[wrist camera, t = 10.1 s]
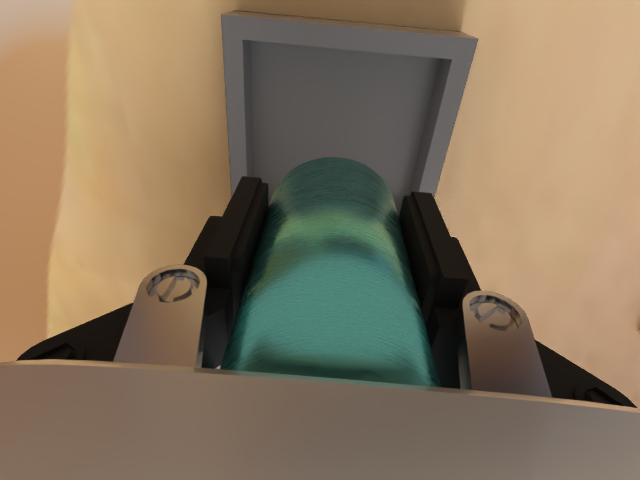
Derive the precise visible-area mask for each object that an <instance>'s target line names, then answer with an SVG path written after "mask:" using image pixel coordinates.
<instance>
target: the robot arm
mask: <svg viewBox="0 0 640 480" xmlns="http://www.w3.org/2000/svg"><path fill="white" fill-rule="evenodd" d="M267 211H268V183H262V179H261V178H258V177H247V176H242V177H241V179H240V181H239V183H238V185H237V187H236V190H235V192H234V194H233V196H232V198H231V200H230V202H229V204H228V206H227V208H226V210H225V212H224V214H223V216H222V217H220V216H210V217H209V219H208V220H207V222H206V224H205V226H204V228H203V230H202V231H201V233H200V235H199V237H198V239H197V241H196V243H195V244H194V246H193V248H192V250H191V252H190V254H189V256H188V257H187V259H186V261H185V263H184V265H171V266H166V267H163V268H160V269H157V270H156V271H154V272H152V273H150V274H149V275H148V276H147V277H145V278H144V279H143V281H142V283H141V284H140V286H139V289H138V292H137V294H136V297H135V300H134V302H133V303H131V304H128V305H126V306H124V307H121V308H119V309H117V310H114V311H112V312H110V313H107V314H105V315H103V316H100V317H98V318H96V319H93V320H91V321H89V322H86V323H84V324H82V325H79V326H77V327H75V328H72V329H70V330H68V331H65V332H63V333H61V334H58V335H56V336H54V337H51V338H49V339H47V340H44V341H42V342H40V343H39V344H37V345H35V346H33V347H31V348H30V349H28V350H27V351H26V352H25V353H23V354H22V355H21V356H20V357H19V358H18V359H17V360H16V361H11V362H2V363H0V480H640V409H638V408H637V407H636V406H635V405H634V404H633V403H632V402H631V401H630V400H629V399H628V398H627V397H626V396H624V395H623V394H622V393H620V392H619V391H617V390H616V389H615V388H613V387H611V386H610V385H608V384H606V383H605V382H603V381H602V380H600V379H598V378H597V377H595V376H593V375H592V374H590V373H589V372H587V371H585V370H584V369H582V368H580V367H579V366H577V365H575V364H574V363H572V362H571V361H569V360H567V359H566V358H564V357H562V356H561V355H559V354H558V353H556V352H554V351H553V350H551V349H549V348H548V347H546V346H544V345H543V344H541V343H540V342H538V341H536V340H535V339H534V336H533V333H532V330H531V326H530V323H529V320H528V318H527V316H526V314H525V312H524V311H523V310H522V309H521V308H520V306H519V305H517V304H516V303H515V302H513V301H512V300H511V299H509V298H507V297H505V296H503V295H501V294H497V293H494V292H491V291H482V290H481V289H480V287H479V285H478V282H477V280H476V278H475V276H474V274H473V271H472V269H471V267H470V265H469V263H468V260H467V258H466V256H465V254H464V252H463V250H462V247H461V245H460V243H459V241H458V239H457V238H455V237H451V236H450V234H449V232H448V229H447V227H446V225H445V223H444V220H443V218H442V216H441V213H440V211H439V209H438V206H437V204H436V202H435V199H434V197H433V195H432V193H426V192H415V191H412V192H411V194H410V196H406V195H405V196H404V198H403V201H402V206H401V210H400V214H399V222H400V226H401V230H402V234H403V238H404V242H405V246H406V250H407V254H408V258H409V262H410V266H411V270H412V274H413V278H414V282H415V286H416V290H417V294H418V298H419V302H420V306H421V310H422V314H423V318H424V322H425V326H426V330H427V334H428V338H429V342H430V346H431V350H432V354H433V358H434V362H435V366H436V370H437V374H438V378H439V382H440V386H441V387H431V386H420V385H408V384H396V383H384V382H372V381H360V380H348V379H336V378H324V377H312V376H300V375H287V374H275V373H262V372H249V371H236V370H223V369H217V367H218V366H220V365H221V363H222V360H223V357H224V353H225V350H226V347H227V343H228V340H229V337H230V333H231V330H232V327H233V324H234V320H235V317H236V314H237V310H238V307H239V304H240V300H241V297H242V294H243V291H244V287H245V284H246V281H247V277H248V274H249V271H250V267H251V264H252V261H253V257H254V254H255V251H256V248H257V244H258V241H259V238H260V234H261V231H262V228H263V224H264V221H265V218H266V215H267Z"/></svg>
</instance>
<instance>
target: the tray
mask: <svg viewBox="0 0 640 480" xmlns="http://www.w3.org/2000/svg"><path fill="white" fill-rule="evenodd" d="M221 23H222V40H223V58H224V75H225V92H226V109H227V126H228V144H229V161H230V178H231V195H232V196H233V194H234V192H235V190H236V187H237V185H238V183H239V181H240V179H241V177H242V176H247V177H258V178H261V179H262V183H268V208H269V205H270V201H271V198H272V195H273V193H274V190H275V188H276V187H277V185H278V183H279V182H280V181H281V179H282V178H283V177H284V176H285V175H286V174H287V173H288V172H289V171H291V170H292V169H294V168H295V167H297V166H299V165H300V164H302V163H305V162H307V161H310V160H313V159H318V158H324V157H341V158H347V159H351V160H354V161H357V162H360V163H362V164H364V165H366V166H368V167H369V168H371V169H372V170H374V171H375V172H376V173H377V174H379V175H380V177H381V178H382V179H383V180H384V181H385V182H386V184H387V185H388V187H389V189H390V191H391V193H392V196H393V199H394V202H395V206H396V210H397V214H398V218H399V214H400V210H401V206H402V201H403V198H404V196H405V195H406V196H410V194H411V192H412V191H415V192H426V193H432V195H433V197H434V196H435V192H436V189H437V185H438V181H439V178H440V174H441V171H442V167H443V164H444V160H445V156H446V153H447V149H448V146H449V142H450V138H451V135H452V131H453V128H454V124H455V121H456V117H457V113H458V110H459V106H460V103H461V99H462V95H463V92H464V88H465V85H466V81H467V78H468V74H469V70H470V67H471V63H472V60H473V56H474V52H475V49H476V45H477V42H478V39H477V38H475V37H472V36H470V35H468V34H465V33H463V32H457V31H446V30H436V29H425V28H415V27H404V26H394V25H383V24H373V23H362V22H352V21H341V20H330V19H320V18H309V17H299V16H288V15H278V14H267V13H257V12H246V11H232V12H228V13H225V14H221Z"/></svg>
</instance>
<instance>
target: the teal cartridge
mask: <svg viewBox="0 0 640 480" xmlns="http://www.w3.org/2000/svg"><path fill="white" fill-rule="evenodd" d="M220 369H223V370H236V371H249V372H262V373H275V374H287V375H300V376H312V377H324V378H336V379H348V380H360V381H372V382H384V383H396V384H408V385H420V386H431V387H441V386H440V382H439V378H438V374H437V370H436V366H435V362H434V358H433V354H432V350H431V346H430V342H429V338H428V334H427V330H426V326H425V322H424V318H423V314H422V310H421V306H420V302H419V298H418V294H417V290H416V286H415V282H414V278H413V274H412V270H411V266H410V262H409V258H408V254H407V250H406V246H405V242H404V238H403V234H402V230H401V226H400V222H399V218H398V214H397V210H396V206H395V202H394V199H393V196H392V193H391V191H390V189H389V187H388V185H387V184H386V182H385V181H384V180H383V179H382V178H381V177H380V175H379V174H377V173H376V172H375V171H374V170H372V169H371V168H369V167H368V166H366V165H364V164H362V163H360V162H357V161H354V160H351V159H347V158H341V157H324V158H318V159H313V160H310V161H307V162H305V163H302V164H300V165H299V166H297V167H295V168H294V169H292V170H291V171H289V172H288V173H287V174H286V175H285V176H284V177H283V178H282V179H281V181H280V182H279V183H278V185H277V187H276V188H275V190H274V193H273V195H272V198H271V201H270V205H269V208H268V211H267V215H266V218H265V221H264V224H263V228H262V231H261V234H260V238H259V241H258V244H257V248H256V251H255V254H254V257H253V261H252V264H251V267H250V271H249V274H248V277H247V281H246V284H245V287H244V291H243V294H242V297H241V300H240V304H239V307H238V310H237V314H236V317H235V320H234V324H233V327H232V330H231V333H230V337H229V340H228V343H227V347H226V350H225V353H224V357H223V360H222V363H221V366H220Z"/></svg>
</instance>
